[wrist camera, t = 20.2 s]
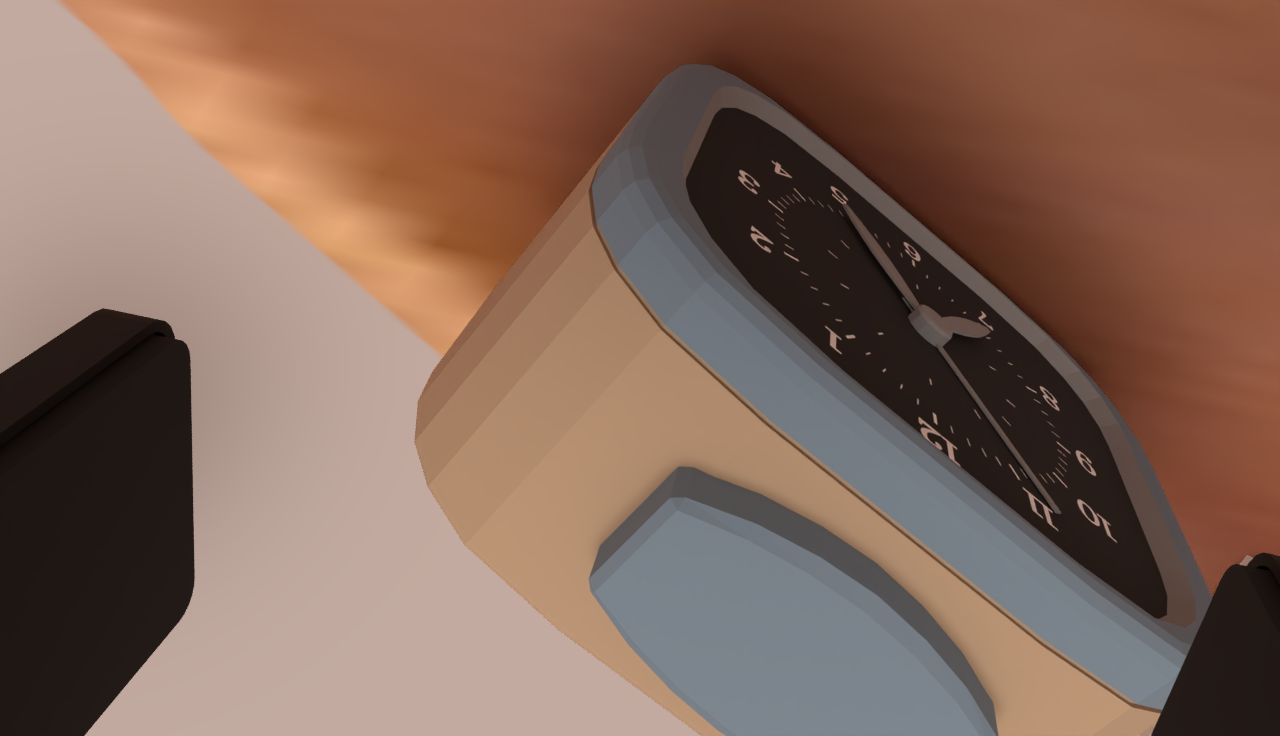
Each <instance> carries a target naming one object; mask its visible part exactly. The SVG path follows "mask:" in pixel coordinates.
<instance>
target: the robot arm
mask: <svg viewBox="0 0 1280 736" xmlns="http://www.w3.org/2000/svg"><path fill="white" fill-rule="evenodd" d="M193 588H194V527H193V474H192V421H191V369H190V353H189V349H188V347H187V345H186V343H184V342H183V341H181V340H177V339H175V336H174V333H173V331H172V328H171V326H170V325H169V324H168V323H167V322H165V321H162V320H157V319H152V318H148V317H143V316H138V315H133V314H128V313H123V312H119V311H114V310H109V309H101V310H98V311H96V312H94V313H92V314H91V315H89V316H88V317H86V318H85V319H83V320H82V321H80V322H78V323H77V324H75V325H74V326H73V327H71V328H69V329H68V330H66V331H65V332H63V333H62V334H60V335H59V336H57V337H56V338H54V339H53V340H51V341H50V342H48V343H47V344H45V345H43V346H42V347H40V348H39V349H37V350H36V351H34V352H33V353H31V354H30V355H29V356H27V357H25V358H24V359H22V360H21V361H20V362H18V363H16V364H15V365H13V366H12V367H10V368H9V369H7V370H5V371H4V372H3V373H1V374H0V736H84V735H85V734H86V733H87V732H88V730H89V729H90V728H91V727H92V726H93V724H94V723H95V722H96V721H97V720H98V718H99V717H100V716H101V715H102V714H103V712H104V711H105V710H106V709H107V708H108V706H109V705H110V704H111V703H112V702H113V700H114V699H115V698H116V697H117V696H118V694H119V693H120V692H121V691H122V690H123V688H124V687H125V686H126V685H127V684H128V682H129V681H130V680H131V679H132V677H133V676H134V675H135V674H136V673H137V671H138V670H139V669H140V668H141V667H142V665H143V664H144V663H145V662H146V661H147V659H148V658H149V657H150V656H151V655H152V653H153V652H154V651H155V650H156V649H157V647H158V646H159V645H160V644H161V643H162V641H163V640H164V639H165V638H166V636H167V635H168V634H169V633H170V632H171V630H172V629H173V628H174V627H175V626H176V625H177V623H178V622H179V621H180V619H181V618H182V617H183V615H184V613H185V611H186V609H187V607H188V605H189V602H190V599H191V596H192V593H193ZM1151 736H1280V556H1277V555H1273V554H1268V553H1261V554H1258V555H1256V556H1255V557H1254V558H1253V559H1252V560H1251V561H1250V562H1249V563H1248V565H1247V566H1244V565H1239V564H1235V565H1232V566H1230V567H1229V568H1228V569H1227V570H1226V572H1225V573H1224V575H1223V577H1222V579H1221V580H1220V583H1219V585H1218V587H1217V589H1216V592H1215V594H1214V596H1213V598H1212V600H1211V603H1210V605H1209V607H1208V609H1207V612H1206V614H1205V616H1204V618H1203V621H1202V623H1201V625H1200V627H1199V629H1198V632H1197V634H1196V636H1195V638H1194V641H1193V643H1192V645H1191V647H1190V649H1189V652H1188V654H1187V656H1186V658H1185V661H1184V663H1183V665H1182V667H1181V669H1180V672H1179V674H1178V676H1177V678H1176V681H1175V683H1174V685H1173V687H1172V689H1171V692H1170V694H1169V696H1168V698H1167V701H1166V703H1165V705H1164V707H1163V709H1162V712H1161V714H1160V716H1159V718H1158V721H1157V723H1156V725H1155V727H1154V729H1153V732H1152V734H1151Z"/></svg>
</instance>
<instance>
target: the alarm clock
mask: <svg viewBox="0 0 1280 736" xmlns="http://www.w3.org/2000/svg"><path fill="white" fill-rule="evenodd" d="M415 445H416V448H417V452H418V455H419V459H420V462H421V465H422V469H423V472H424V476H425V479H426V483H427V486H428V488H429V490H430V491H431V493H432V494H433V496H434V498H435V499H436V501H437V502H438V504H439V505H440V507H441V509H442V510H443V512H444V513H445V515H446V516H447V518H448V520H449V521H450V523H451V524H452V526H453V527H454V529H455V531H456V532H457V534H458V535H459V537H460V539H461V540H462V542H463V543H464V545H465V546H466V547H467V548H468V549H470V550H471V551H472V552H473V553H474V554H475V555H476V556H477V557H478V558H479V559H481V560H482V561H483V562H484V563H485V564H486V565H487V566H488V567H489V568H490V569H492V570H493V571H494V572H495V573H496V574H497V575H498V576H499V577H500V578H502V579H503V580H504V581H505V582H506V583H507V584H508V585H509V586H510V587H511V588H513V589H514V590H515V591H516V592H517V593H518V594H519V595H520V596H521V597H523V598H524V599H525V600H526V601H527V602H528V603H529V604H530V605H531V606H532V607H534V608H535V609H536V610H537V611H538V612H539V613H540V614H541V615H543V617H545V618H546V619H547V620H548V621H549V622H550V623H551V624H552V625H553V626H555V627H556V628H557V629H558V630H559V631H560V632H562V633H563V634H565V635H566V636H567V637H569V638H570V639H571V640H573V641H574V642H575V643H577V644H578V645H579V646H581V647H582V648H583V649H585V650H586V651H587V652H589V653H590V654H592V655H593V656H594V657H596V658H597V659H598V660H600V661H601V662H602V663H604V664H605V665H606V666H608V667H609V668H611V669H612V670H613V671H615V672H616V673H617V674H619V675H620V676H621V677H623V678H624V679H625V680H627V681H628V682H629V683H631V684H632V685H633V686H635V687H636V688H638V689H639V690H640V691H642V692H643V693H644V694H646V695H647V696H648V697H650V698H651V699H652V700H654V701H655V702H657V703H658V704H659V705H661V706H662V707H663V708H665V709H666V710H667V711H669V712H670V713H672V714H673V715H674V716H676V717H677V718H678V719H680V720H681V721H682V722H684V723H685V724H686V725H688V726H689V727H690V728H692V729H693V730H694V731H696V732H697V733H698V734H700V735H701V736H1138V735H1140V734H1141V733H1143V732H1144V731H1145V730H1147V729H1148V728H1150V727H1151V726H1153V725H1154V724H1156V723H1157V721H1158V718H1159V716H1160V714H1161V712H1162V709H1163V707H1164V705H1165V703H1166V701H1167V698H1168V696H1169V694H1170V692H1171V689H1172V687H1173V685H1174V683H1175V681H1176V678H1177V676H1178V674H1179V672H1180V669H1181V667H1182V665H1183V663H1184V661H1185V658H1186V656H1187V654H1188V652H1189V649H1190V647H1191V645H1192V643H1193V641H1194V638H1195V636H1196V634H1197V632H1198V629H1199V627H1200V625H1201V623H1202V621H1203V618H1204V616H1205V614H1206V612H1207V609H1208V607H1209V605H1210V603H1211V600H1212V595H1211V593H1210V591H1209V589H1208V587H1207V584H1206V582H1205V580H1204V578H1203V576H1202V574H1201V571H1200V569H1199V567H1198V565H1197V563H1196V561H1195V558H1194V556H1193V554H1192V552H1191V550H1190V547H1189V545H1188V543H1187V541H1186V539H1185V537H1184V534H1183V532H1182V530H1181V528H1180V526H1179V524H1178V521H1177V519H1176V517H1175V515H1174V513H1173V511H1172V508H1171V506H1170V504H1169V502H1168V500H1167V497H1166V495H1165V493H1164V491H1163V489H1162V487H1161V484H1160V482H1159V480H1158V478H1157V476H1156V474H1155V471H1154V469H1153V467H1152V465H1151V464H1150V462H1149V460H1148V458H1147V456H1146V454H1145V452H1144V450H1143V449H1142V447H1141V445H1140V443H1139V442H1138V440H1137V439H1136V437H1135V436H1134V434H1133V433H1132V431H1131V430H1130V428H1129V427H1128V425H1127V424H1126V422H1125V421H1124V419H1123V418H1122V416H1121V415H1120V413H1119V412H1118V410H1117V409H1116V408H1115V406H1114V405H1113V404H1112V403H1111V401H1110V400H1109V399H1108V398H1107V396H1106V395H1105V394H1104V393H1103V391H1102V390H1101V389H1100V388H1099V386H1098V385H1097V384H1096V383H1095V382H1094V381H1093V379H1092V378H1091V377H1090V376H1089V375H1088V374H1087V373H1086V372H1085V371H1084V370H1083V369H1082V368H1081V367H1080V366H1079V364H1078V363H1077V362H1076V361H1075V360H1074V359H1073V358H1072V357H1071V356H1070V355H1069V354H1068V353H1067V352H1066V351H1065V350H1064V349H1063V348H1062V347H1061V346H1060V345H1059V344H1058V343H1057V342H1056V341H1055V340H1054V339H1052V338H1051V337H1050V336H1049V335H1048V334H1047V333H1046V332H1045V331H1044V330H1043V329H1042V328H1040V327H1039V326H1038V325H1037V324H1036V323H1035V322H1034V321H1033V320H1032V319H1031V318H1030V317H1028V316H1027V315H1026V314H1025V313H1024V312H1023V311H1022V310H1021V309H1020V308H1019V307H1018V306H1016V305H1015V304H1014V303H1013V302H1012V301H1011V300H1010V299H1009V298H1008V297H1007V296H1006V295H1004V294H1003V293H1002V292H1001V291H1000V290H999V289H997V288H996V287H995V286H994V285H993V284H992V283H990V282H989V281H988V280H987V279H986V278H984V277H983V276H982V275H981V274H980V273H979V272H977V271H976V270H975V269H974V268H973V267H972V266H970V265H969V264H968V263H967V262H966V261H965V260H963V259H962V258H961V257H960V256H959V255H958V254H956V253H955V252H954V251H953V250H952V249H951V248H949V247H948V246H947V245H946V244H945V243H944V242H942V241H941V240H940V239H939V238H938V237H937V236H935V235H934V234H933V233H932V232H931V231H929V230H928V229H927V228H926V227H925V226H924V225H922V224H921V223H920V222H919V221H918V220H917V219H915V218H914V217H913V216H912V215H911V214H910V213H908V212H907V211H906V210H905V209H904V208H903V207H901V206H900V205H899V204H898V203H897V202H896V201H894V200H893V199H892V198H891V197H890V196H889V195H887V194H886V193H885V192H884V191H883V190H882V189H880V188H879V187H878V186H877V185H876V184H875V183H873V182H872V181H871V180H870V179H869V178H868V177H866V176H865V175H864V174H863V173H862V172H861V171H859V170H858V169H857V168H856V167H855V166H854V165H852V164H851V163H850V162H849V161H848V160H847V159H845V158H844V157H843V156H842V155H841V154H840V153H838V152H837V151H836V150H835V149H834V148H832V147H831V146H830V145H829V144H827V143H826V142H825V141H824V140H822V139H821V138H820V137H819V136H817V135H816V134H815V133H814V132H812V131H811V130H810V129H809V128H807V127H806V126H805V125H804V124H802V123H801V122H800V121H799V120H797V119H796V118H795V117H794V116H792V115H791V114H790V113H789V112H787V111H786V110H785V109H784V108H782V107H781V106H780V105H778V104H777V103H776V102H775V101H773V100H772V99H771V98H769V97H768V96H766V95H765V94H763V93H761V92H760V91H758V90H757V89H755V88H754V87H752V86H750V85H749V84H747V83H746V82H744V81H742V80H741V79H739V78H738V77H736V76H734V75H732V74H730V73H728V72H725V71H723V70H721V69H719V68H716V67H714V66H712V65H701V64H685V65H682V66H680V67H678V68H677V69H675V70H674V71H672V72H671V73H669V74H668V75H667V76H665V77H664V78H663V79H662V80H661V81H660V83H659V84H658V85H657V86H656V88H655V89H654V90H653V91H652V93H651V94H650V95H649V96H648V98H647V99H646V100H645V101H644V103H643V104H642V105H641V107H640V108H639V109H638V110H637V111H636V113H635V114H634V115H633V116H632V117H631V119H630V120H629V121H628V122H627V124H626V125H625V126H624V127H623V129H622V130H621V131H620V132H619V134H618V135H617V136H616V137H615V139H614V140H613V141H612V142H611V144H610V145H609V146H608V147H607V149H606V150H605V151H604V152H603V154H602V155H601V156H600V157H599V159H598V160H597V161H596V162H595V164H594V165H593V166H592V167H591V168H590V170H589V171H588V172H587V173H586V175H585V176H584V177H583V178H582V180H581V181H580V182H579V183H578V185H577V186H576V187H575V188H574V190H573V191H572V192H571V193H570V195H569V196H568V197H567V198H566V200H565V201H564V202H563V203H562V205H561V206H560V207H559V208H558V210H557V211H556V212H555V213H554V215H553V216H552V217H551V218H550V219H549V221H548V222H547V223H546V224H545V226H544V227H543V228H542V229H541V231H540V232H539V233H538V234H537V236H536V237H535V238H534V239H533V241H532V242H531V243H530V244H529V246H528V247H527V248H526V249H525V251H524V252H523V253H522V254H521V256H520V257H519V258H518V259H517V261H516V262H515V263H514V264H513V266H512V267H511V268H510V269H509V271H508V272H507V273H506V274H505V275H504V277H503V278H502V279H501V280H500V282H499V283H498V284H497V286H496V287H495V288H494V290H493V291H492V292H491V294H490V295H489V296H488V298H487V299H486V300H485V302H484V303H483V304H482V306H481V307H480V308H479V310H478V311H477V313H476V314H475V315H474V317H473V318H472V319H471V321H470V322H469V323H468V325H467V326H466V327H465V329H464V330H463V331H462V333H461V334H460V335H459V337H458V338H457V339H456V341H455V342H454V343H453V345H452V346H451V347H450V349H449V350H448V351H447V353H446V354H445V355H444V357H443V358H442V360H441V361H440V362H439V364H438V365H437V366H436V368H435V369H434V370H433V372H432V374H431V376H430V378H429V380H428V382H427V384H426V386H425V388H424V390H423V392H422V394H421V396H420V398H419V400H418V408H417V419H416V431H415Z"/></svg>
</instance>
